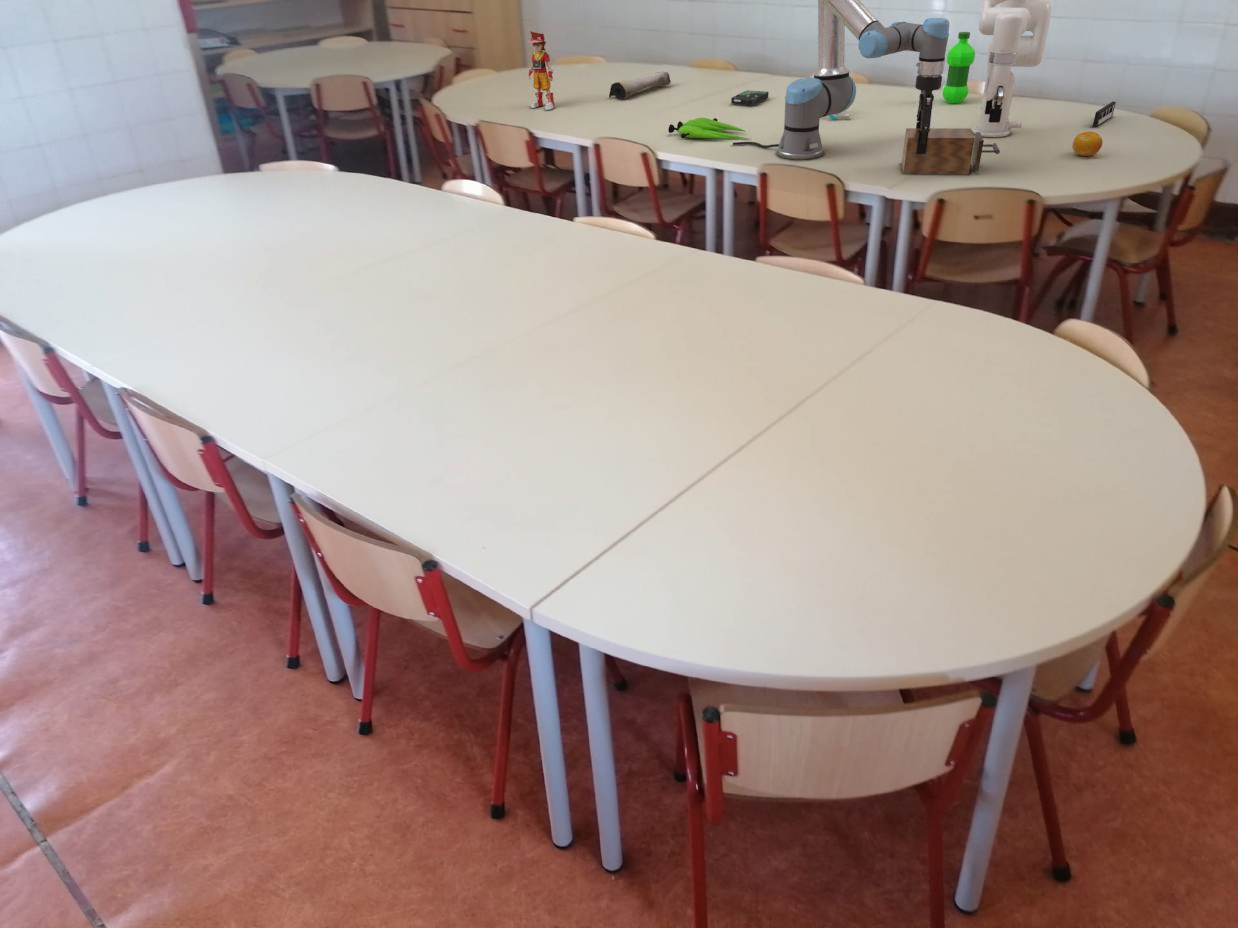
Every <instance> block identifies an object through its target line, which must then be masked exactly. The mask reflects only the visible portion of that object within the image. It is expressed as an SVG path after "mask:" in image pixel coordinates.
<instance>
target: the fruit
mask: <svg viewBox="0 0 1238 928" xmlns="http://www.w3.org/2000/svg"><path fill="white" fill-rule="evenodd" d="M1102 146H1103V138H1102V136H1101V135H1100V134H1099V133H1098V132H1095V131H1084V132H1080V133H1079V134H1077V135H1076V136H1075V137H1074V138H1073V141H1072V151H1073V153H1075V154H1076V155H1078V156H1081V157H1090V156H1094V155H1096V154H1097V153H1099V151H1101V148H1102Z"/></svg>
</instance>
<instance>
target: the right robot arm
mask: <svg viewBox="0 0 1238 928" xmlns="http://www.w3.org/2000/svg"><path fill="white" fill-rule="evenodd" d="M998 5H999V7H998ZM1051 16H1052V3H1051V2H1050V0H983V1H982V5H981V11H980V14H979V20H978V30H979V33H980V34H982V35H984V36H992V40H990V42H989V45H988V49H987V64H986V65H987V67H986V76H985V81H984V82H985V83H984V88H983V96H982V100H981V106H980V110H979V111H980V112H979V117H978V123H977V126H974V127H973V128H972V130H971V131H972V133H973V135H976V132H980V133H981V136H982V137H983V138H984V137H986V138H1002V137H1007V136H1009V135H1010V134H1011V130H1012V129H1021V128H1022V123H1023V122H1022V121H1021V122H1020V121H1019V122H1017V121H1015V120H1013V121H1010V119H1009V117H1010V110H1011V106H1012V100H1013V95H1014V91H1015V90H1014V89H1015V85H1016V84H1015V83H1016V77H1015V75H1014V73H1013V71H1012V70H1011V68H1013V67H1015V68H1018V67H1019V68H1022V67H1024V68H1032V67H1033V68H1034V67H1037V66H1039V65H1040V63H1041V62H1042V60H1043V57H1044V54H1045V48H1046V44H1047V38H1048V33H1049V27H1050V22H1051ZM1026 32H1031V33H1032V35H1024V34H1025V33H1026Z"/></svg>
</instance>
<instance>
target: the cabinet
mask: <svg viewBox="0 0 1238 928" xmlns="http://www.w3.org/2000/svg"><path fill="white" fill-rule="evenodd" d="M918 130H920V128H916V127H915V128H911V127H910V128H909V127H908V128H907V127H906V128H905V134H904V142H903V150H902V159H901V169H902V173H903V174H904V175H969V174H970V169H971V164H972V163H971V158H972V153H973V152H972V151H973V147H974V146H973V145H974V141H975V134H974V133H973V132H972V131H973V130H972V128H971V127H970V128H969V127H968V128H966V127H965V128H963V127H962V128H961V127H959V128H955V127H954V128H953V127H948V128H947V127H946V128H945V127H944V128H941V127H939V128H938V127H935V128H933V127H932V128H931V127H930V132H929V133H928V140H927V148H926V154H916V153H917V145H918V138H919V133H918Z"/></svg>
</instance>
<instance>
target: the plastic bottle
mask: <svg viewBox="0 0 1238 928" xmlns="http://www.w3.org/2000/svg"><path fill="white" fill-rule="evenodd" d="M970 36H971V32H970V31H959V32H958V36H957V39H958V42H957V43H956V44H954V45H953V46H952V47H951V48H950V49H949V50H948V52H947V53H946V63H947V64H948V69H947V70H948V71H947V76H946V77H947V78H946V84H945V85H944V87H943V90H942V97H943V99H944V100H945V101H946V102H947V103H948V104H960V103H961V102H963V101H964V100H966V98H967V96H968V95H969V85H968V79H969V73H970V67H971V65H972V64H973V63H974V61H975V57H976V51H975V49H974V47H972V45H971V44H970V43H969V42H968V41H969V39H970V38H971V37H970Z"/></svg>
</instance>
